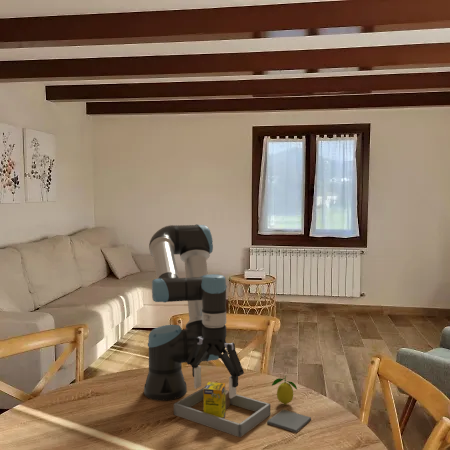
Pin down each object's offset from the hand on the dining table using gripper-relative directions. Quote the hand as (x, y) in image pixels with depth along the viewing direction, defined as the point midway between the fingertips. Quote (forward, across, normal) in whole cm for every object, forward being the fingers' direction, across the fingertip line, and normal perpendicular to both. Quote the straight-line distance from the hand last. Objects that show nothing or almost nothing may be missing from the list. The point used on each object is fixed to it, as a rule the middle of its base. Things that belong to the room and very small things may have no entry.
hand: (214, 392), depth 155 cm
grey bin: (+9, 0, +4) cm, 10 cm away
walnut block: (+9, -4, +9) cm, 13 cm away
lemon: (+9, +13, +22) cm, 27 cm away
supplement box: (+9, 0, 0) cm, 9 cm away
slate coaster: (+9, +20, +12) cm, 25 cm away
